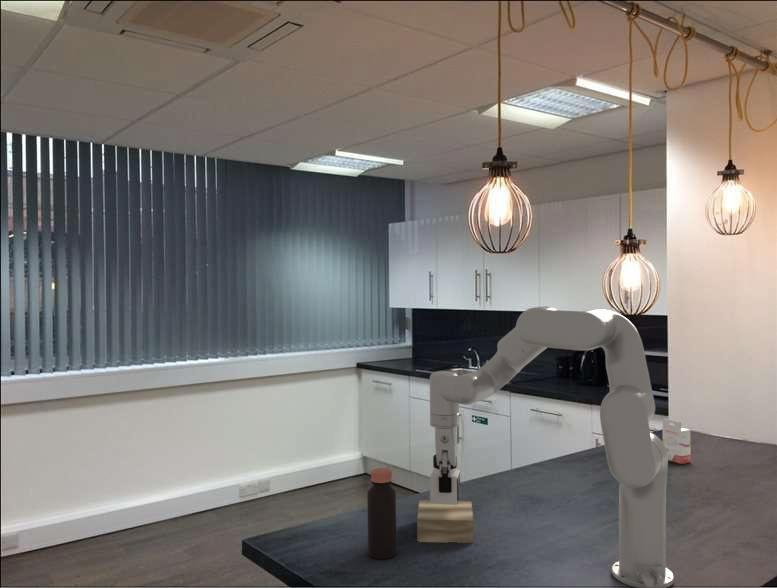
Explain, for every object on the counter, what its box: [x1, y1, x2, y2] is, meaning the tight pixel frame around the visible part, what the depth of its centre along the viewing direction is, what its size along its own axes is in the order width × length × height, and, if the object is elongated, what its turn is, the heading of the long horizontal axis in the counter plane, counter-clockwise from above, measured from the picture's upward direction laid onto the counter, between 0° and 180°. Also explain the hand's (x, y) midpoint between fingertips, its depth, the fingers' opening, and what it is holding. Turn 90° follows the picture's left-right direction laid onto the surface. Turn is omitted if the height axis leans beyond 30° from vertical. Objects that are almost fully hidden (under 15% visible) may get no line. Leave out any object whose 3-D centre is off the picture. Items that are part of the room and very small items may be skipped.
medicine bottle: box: [429, 452, 461, 505], centre depth 168 cm, size 7×7×12 cm
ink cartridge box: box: [662, 418, 692, 465], centre depth 231 cm, size 9×5×15 cm, turn 25°
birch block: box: [416, 499, 475, 544], centre depth 168 cm, size 14×14×6 cm
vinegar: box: [366, 467, 397, 560], centre depth 155 cm, size 7×7×20 cm
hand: (445, 486), depth 168 cm, fingers closed on medicine bottle, 7 cm apart
